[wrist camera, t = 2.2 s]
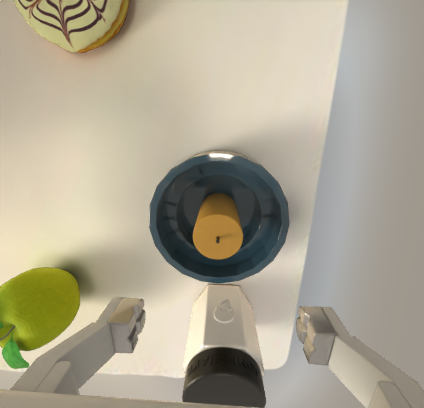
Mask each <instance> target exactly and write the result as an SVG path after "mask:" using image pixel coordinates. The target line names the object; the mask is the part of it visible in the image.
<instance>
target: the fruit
mask: <svg viewBox="0 0 424 408" xmlns="http://www.w3.org/2000/svg"><path fill="white" fill-rule="evenodd" d="M79 306H80V291H79V286H78V283H77V281H76V279H75V278H74V276H73V275H71V274H70V273H69V272H67V271H65V270H62V269H58V268H47V267H46V268H36V269H32V270H29V271H26V272H24V273H21V274H20V275H18V276H16V277H14V278H12V279H11V280H9V281H7V282H6V283H4V284H3V285H1V286H0V346H1V347H2V348H3V350H2V355H3V358H4V359H5V361H6V362H7V364H8V365H9V366H10V367H11V368H14V369H17V368H27V367H29V363H27V362H26V361H25V360H24V359H23V358H22V356H21V354H20V351H19V350H22V351H30V350H34V349H37V348H40V347H42V346H44V345H45V344H47V343H49V342H50V341H52V340H54V339H55V338H56V337H57V336H59V335H60V334H61V333H62V332H63V331H64V330H65V329H66V328H67V327H68V326H69V325H70V324H71V322H72V321H73V320H74V318H75V316H76V314H77V312H78V309H79Z"/></svg>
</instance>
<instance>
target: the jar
mask: <svg viewBox="0 0 424 408" xmlns="http://www.w3.org/2000/svg"><path fill="white" fill-rule="evenodd" d="M183 372H184V373H185V374H186V375H185V382H184V389H183V396H182V398H183V402H186V403H201V404H215V405H229V406H243V407H258V408H265V404H266V397H265V391H264V386H263V381H262V377H263V376H264V374H265V373H264V368H263V363H262V357H261V352H260V347H259V342H258V336H257V331H256V326H255V321H254V315H253V310H252V307H251V305H250V304H249V302H248V300H247V299H246V297H245V295H244V294H243V292H242V290H241V289H240V287H239V286H230V285H207V287H206V288H205V289H204V291H203V292H202V294H201V295H200V296H199V298H198V299H197V300H196V302H195V303H194V304H193V309H192V315H191V321H190V327H189V333H188V339H187V346H186V352H185V358H184V364H183Z"/></svg>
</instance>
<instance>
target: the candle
mask: <svg viewBox="0 0 424 408" xmlns="http://www.w3.org/2000/svg"><path fill="white" fill-rule="evenodd" d="M193 242H194V245H195V247H196V248H197V250H198V251H199V252H200V253H201V254H203V255H204V256H206V257H208V258H211V259H225V258H228V257H231V256H232V255H234V254H235V253H236V252H237V251H238V250H239V249H240V247H241V245H242V242H243V232H242V228H241V224H240V220H239V215H238V211H237V207H236V204H235V202H234V200H233V199H232V198H231V197H230V196H228V195H226V194H223V193H214V194H211V195H209V196H207V197H206V198H205V199H204V200H203V202H202V204H201V207H200V211H199V214H198V217H197V221H196V224H195V228H194V231H193Z"/></svg>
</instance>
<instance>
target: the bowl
mask: <svg viewBox="0 0 424 408" xmlns="http://www.w3.org/2000/svg"><path fill="white" fill-rule="evenodd" d="M214 193H223V194H226V195H228V196H230V197H231V198H232V199H233V200H234V202H235V204H236V207H237V211H238V215H239V220H240V224H241V228H242V232H243V242H242V245H241V247H240V249H239V250H238V251H237V252H236V253H235V254H234V255H232V256H231V257H228V258H225V259H211V258H208V257H206V256H204V255H203V254H201V253H200V252H199V251H198V250H197V248H196V247H195V245H194V242H193V231H194V228H195V224H196V221H197V217H198V214H199V211H200V207H201V204H202V202H203V200H204V199H205V198H206V197H207V196H209V195H211V194H214ZM149 228H150V231H151V234H152V237H153V240H154V244H155V246H156V247H157V249H158V250H159V252H160V253H161V254H162V256H163V257H164V259H165V260H166V261H167V262H168V263H169V264H171V265H172V266H173V267H174V268H176V269H177V270H178V271H180V272H181V273H182V274H185V275H187V276H190V277H192V278H194V279H197V280H199V281H204V282H212V283H226V282H233V281H239V280H242V279H245V278H247V277H249V276H252V275H254V274H256V273H258V272H260V271H261V270H262V269H263V268H265V267H266V266H267V265H268V264H269V263H271V262H272V261H273V260H274V258H275V257H276V255H277V254H278V252H279V251H280V249H281V248H282V246H283V245H284V243H285V239H286V236H287V232H288V228H289V212H288V203H287V200H286V198H285V196H284V193H283V191H282V189H281V187H280V185H279V183H278V182H277V181H276V180H275V179H274V178H273V177H272V176H271V175H270V174H269V173H268V172H267V171H266V170H265V169H264V168H263V167H262V166H261V165H259V164H258V163H256V162H255V161H253V160H251V159H249V158H247V157H245V156H242V155H240V154H238V153H236V152H227V151H219V150H215V151H210V152H205V153H200V154H196V155H195V156H193V157H191V158H190V159H188V160H186V161H184V162H183V163H181V164H179V165H178V166H176V167H174V168H173V169H171V170H170V172H169V173H168V174H167V175H166V176H165V177H164V179H163V180H162V181H161V182H160V183H159V184H158V186H157V188H156V190H155V193H154V196H153V198H152V201H151V203H150V210H149Z"/></svg>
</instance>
